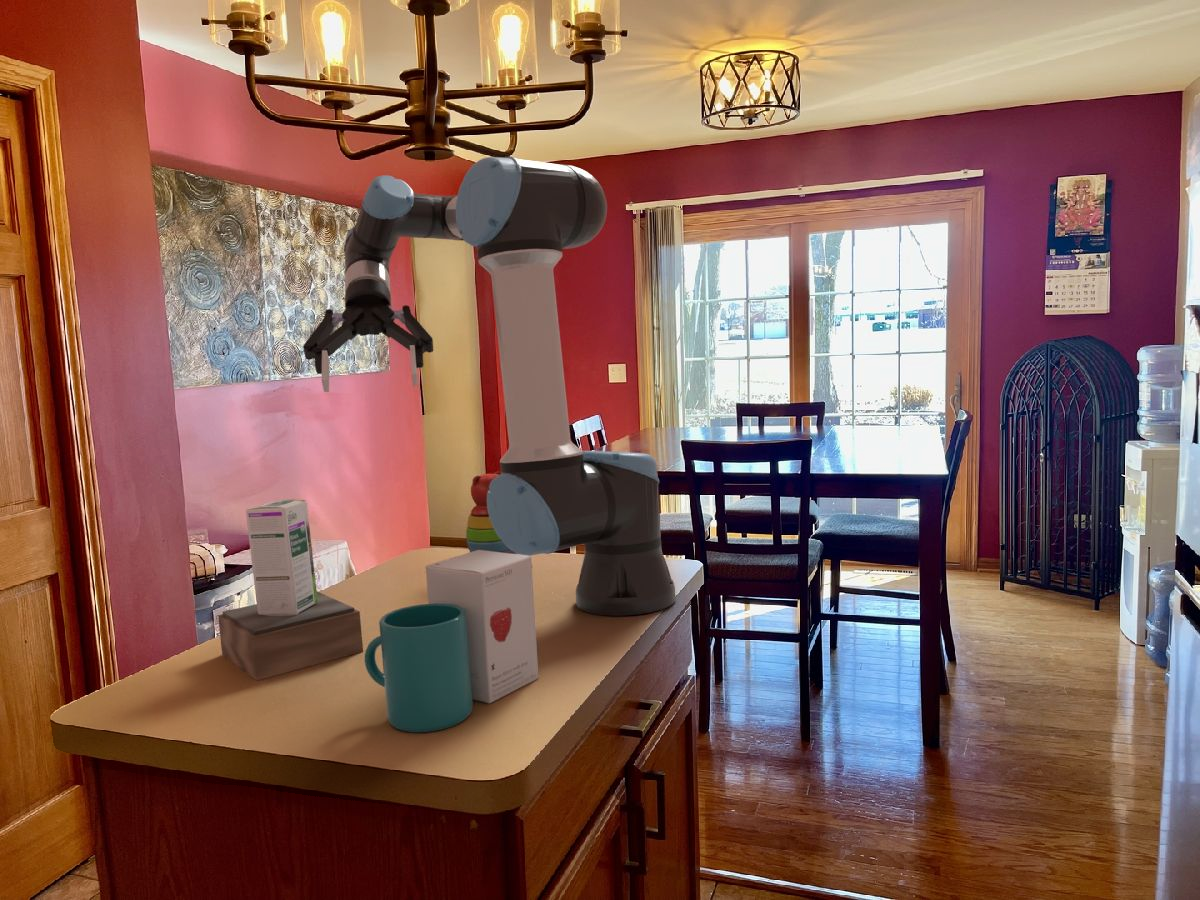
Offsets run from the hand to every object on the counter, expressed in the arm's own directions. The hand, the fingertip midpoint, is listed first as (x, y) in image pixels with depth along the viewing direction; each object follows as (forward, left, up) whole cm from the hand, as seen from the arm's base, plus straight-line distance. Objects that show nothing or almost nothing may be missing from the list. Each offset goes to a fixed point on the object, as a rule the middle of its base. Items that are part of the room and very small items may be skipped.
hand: (370, 383), depth 136 cm
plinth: (-13, +20, -35) cm, 43 cm away
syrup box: (-13, +20, -29) cm, 38 cm away
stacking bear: (+3, -23, -35) cm, 42 cm away
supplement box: (-43, +8, -35) cm, 56 cm away
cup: (-45, +18, -35) cm, 60 cm away
